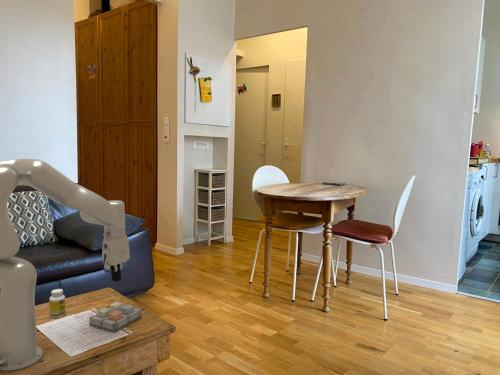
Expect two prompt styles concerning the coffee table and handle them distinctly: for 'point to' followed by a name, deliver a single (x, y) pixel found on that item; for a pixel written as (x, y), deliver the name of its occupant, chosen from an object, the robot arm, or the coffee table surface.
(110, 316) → the key terracotta
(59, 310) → the supplement bottle
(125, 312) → the key slate
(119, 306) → the key ivory
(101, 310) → the key sage
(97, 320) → the keypad
